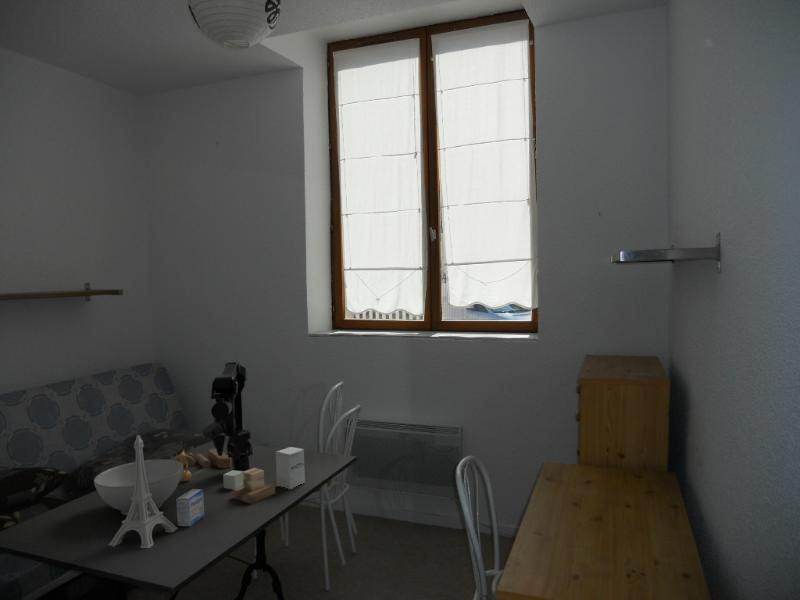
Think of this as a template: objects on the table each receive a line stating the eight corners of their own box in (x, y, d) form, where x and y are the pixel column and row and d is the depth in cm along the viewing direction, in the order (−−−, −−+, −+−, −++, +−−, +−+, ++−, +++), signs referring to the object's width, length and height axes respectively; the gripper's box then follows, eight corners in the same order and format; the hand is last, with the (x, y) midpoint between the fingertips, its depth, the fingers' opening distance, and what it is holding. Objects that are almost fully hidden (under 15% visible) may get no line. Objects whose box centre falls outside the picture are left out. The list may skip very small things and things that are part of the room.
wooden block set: (217, 444, 241) (231, 454, 227) (218, 458, 242) (232, 468, 227) (176, 452, 232) (187, 463, 217) (176, 466, 232) (188, 478, 217)
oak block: (243, 487, 194) (242, 471, 194) (255, 483, 198) (255, 467, 198) (252, 490, 191) (251, 474, 191) (264, 486, 195) (263, 470, 194)
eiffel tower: (107, 546, 161) (101, 441, 160) (140, 526, 174) (134, 429, 173) (148, 549, 157) (142, 442, 156) (178, 529, 170) (172, 430, 169)
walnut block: (233, 499, 193) (232, 489, 193) (257, 490, 201) (256, 480, 201) (251, 505, 187) (251, 495, 187) (275, 495, 195) (274, 485, 195)
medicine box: (190, 527, 171) (189, 498, 171) (177, 526, 172) (175, 498, 172) (204, 516, 179) (203, 489, 178) (191, 515, 180) (190, 488, 179)
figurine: (198, 478, 215) (197, 447, 214) (194, 484, 209) (193, 451, 208) (175, 480, 214) (174, 448, 213) (171, 486, 208) (169, 453, 207)
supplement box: (290, 490, 198) (288, 454, 198) (276, 486, 203) (274, 451, 203) (306, 483, 204) (304, 448, 204) (292, 480, 209) (290, 446, 208)
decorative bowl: (201, 495, 197) (199, 461, 196) (147, 528, 171) (145, 489, 171) (136, 490, 204) (135, 457, 204) (76, 522, 178) (73, 484, 178)
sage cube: (223, 488, 203) (223, 474, 203) (233, 483, 208) (232, 470, 208) (235, 489, 201) (234, 476, 201) (244, 485, 206) (243, 471, 206)
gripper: (189, 414, 194) (191, 460, 195) (222, 421, 183) (224, 469, 184) (217, 408, 203) (219, 451, 204) (250, 414, 192) (252, 459, 192)
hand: (228, 457), depth 196 cm, fingers open, 9 cm apart
